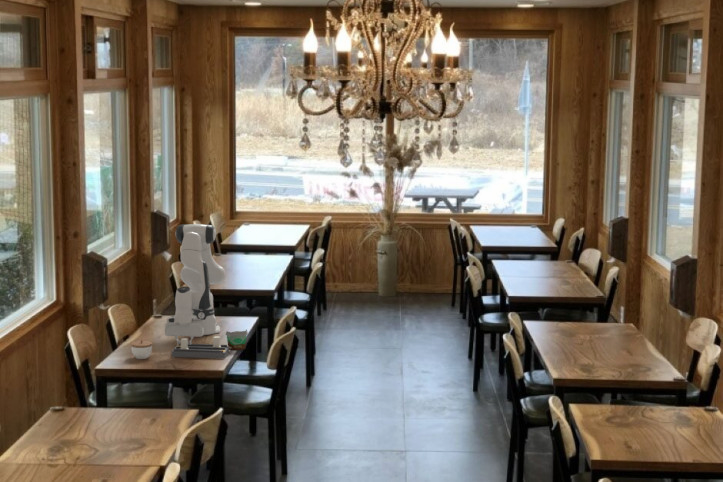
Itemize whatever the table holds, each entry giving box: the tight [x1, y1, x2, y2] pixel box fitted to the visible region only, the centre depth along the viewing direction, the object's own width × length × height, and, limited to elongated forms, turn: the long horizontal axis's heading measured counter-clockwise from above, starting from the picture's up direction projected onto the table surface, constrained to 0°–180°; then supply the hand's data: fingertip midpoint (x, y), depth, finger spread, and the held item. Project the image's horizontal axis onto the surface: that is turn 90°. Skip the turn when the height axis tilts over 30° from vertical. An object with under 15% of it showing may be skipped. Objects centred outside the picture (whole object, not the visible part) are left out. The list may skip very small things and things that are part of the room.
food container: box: [225, 328, 249, 352], centre depth 575 cm, size 12×6×10 cm, turn 117°
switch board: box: [171, 343, 230, 359], centre depth 564 cm, size 13×28×4 cm, turn 87°
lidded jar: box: [130, 339, 153, 360], centre depth 555 cm, size 11×11×9 cm
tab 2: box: [212, 335, 221, 347], centre depth 566 cm, size 3×4×6 cm
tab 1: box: [180, 337, 189, 349], centre depth 560 cm, size 3×4×6 cm
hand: (184, 344), depth 560 cm, fingers open, 4 cm apart
